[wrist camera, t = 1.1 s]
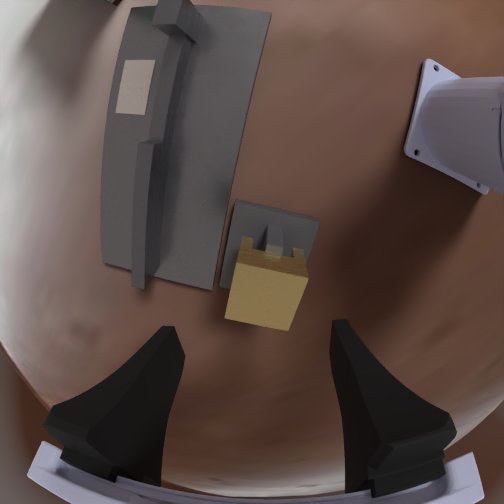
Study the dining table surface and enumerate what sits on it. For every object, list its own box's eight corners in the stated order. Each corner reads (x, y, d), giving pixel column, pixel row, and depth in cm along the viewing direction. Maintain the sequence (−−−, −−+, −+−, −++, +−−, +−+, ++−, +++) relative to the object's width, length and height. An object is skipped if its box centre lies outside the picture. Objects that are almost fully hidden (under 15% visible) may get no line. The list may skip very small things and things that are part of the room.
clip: (242, 235, 18) (236, 262, 15) (303, 249, 18) (308, 278, 15) (231, 286, 20) (224, 318, 17) (286, 298, 20) (288, 330, 17)
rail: (271, 16, 13) (270, -14, 9) (213, 284, 23) (200, 325, 18) (136, 10, 13) (102, -10, 9) (106, 257, 23) (77, 288, 18)
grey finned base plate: (318, 218, 20) (328, 242, 16) (292, 296, 23) (294, 329, 19) (236, 199, 20) (228, 219, 16) (220, 281, 23) (211, 312, 19)
